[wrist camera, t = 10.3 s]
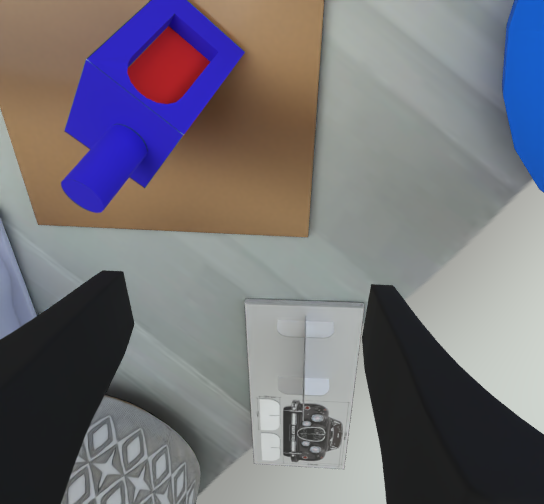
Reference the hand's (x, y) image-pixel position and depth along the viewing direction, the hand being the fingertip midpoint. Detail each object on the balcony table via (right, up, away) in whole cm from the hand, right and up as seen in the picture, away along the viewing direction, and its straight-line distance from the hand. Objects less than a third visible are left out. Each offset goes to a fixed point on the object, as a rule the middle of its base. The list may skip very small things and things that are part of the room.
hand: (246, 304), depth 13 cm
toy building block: (-4, +9, +6) cm, 11 cm away
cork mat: (-4, +9, +6) cm, 11 cm away
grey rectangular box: (+3, -7, +16) cm, 18 cm away
